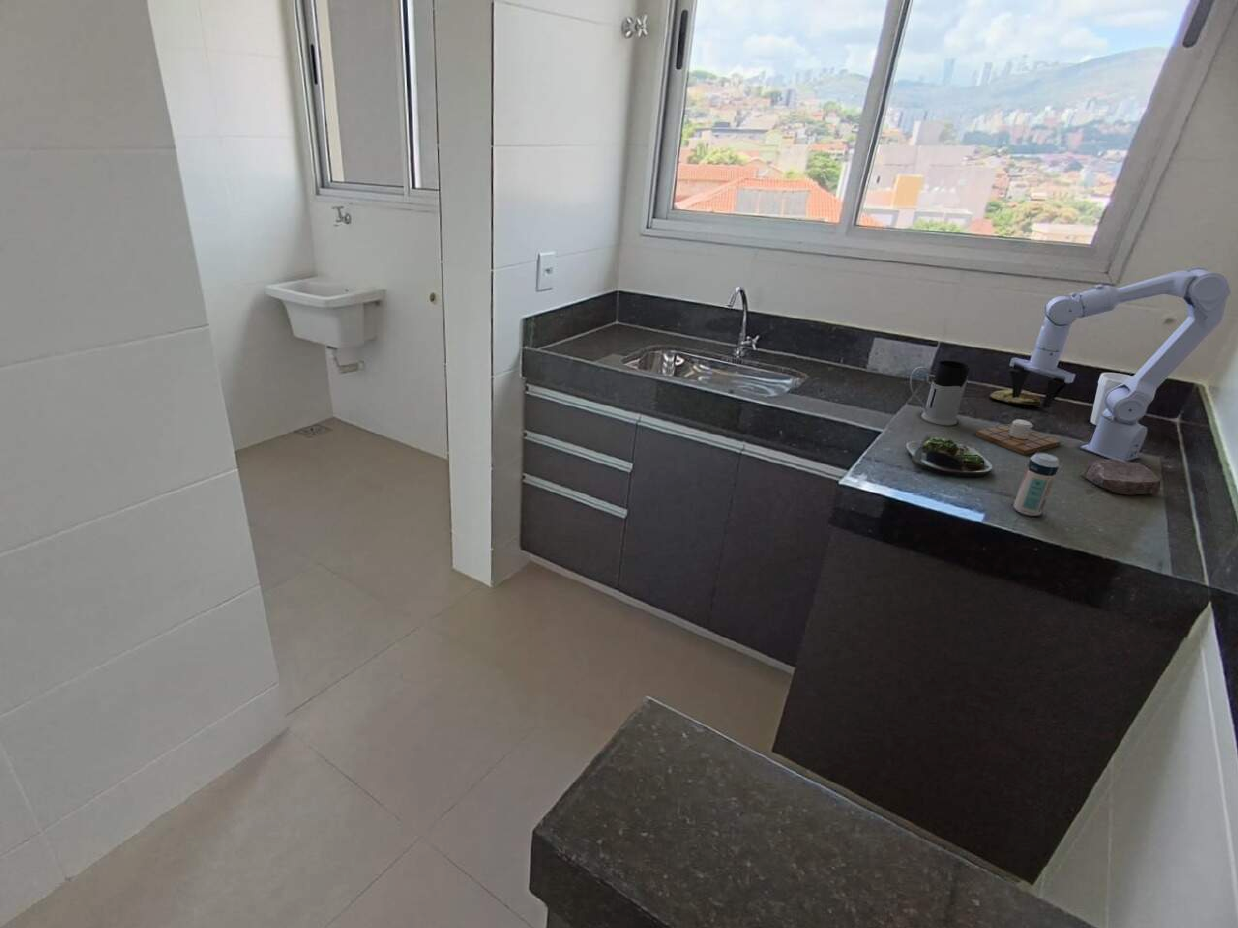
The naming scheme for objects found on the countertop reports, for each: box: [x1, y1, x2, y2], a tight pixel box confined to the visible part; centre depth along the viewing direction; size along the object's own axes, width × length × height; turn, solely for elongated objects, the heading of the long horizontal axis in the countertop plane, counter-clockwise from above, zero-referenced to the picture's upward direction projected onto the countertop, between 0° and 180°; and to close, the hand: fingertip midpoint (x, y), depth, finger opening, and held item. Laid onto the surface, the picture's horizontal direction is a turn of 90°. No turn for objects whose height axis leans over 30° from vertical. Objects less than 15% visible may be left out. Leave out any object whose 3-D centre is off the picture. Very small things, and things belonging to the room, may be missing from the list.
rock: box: [989, 389, 1042, 406], centre depth 190 cm, size 13×10×4 cm
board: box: [976, 422, 1061, 456], centre depth 164 cm, size 13×15×1 cm
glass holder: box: [909, 359, 971, 426], centre depth 172 cm, size 9×14×15 cm, turn 83°
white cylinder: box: [1009, 418, 1034, 439], centre depth 163 cm, size 4×4×4 cm
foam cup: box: [1089, 372, 1132, 426], centre depth 175 cm, size 10×9×13 cm
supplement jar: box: [1013, 452, 1060, 517], centre depth 127 cm, size 5×5×12 cm
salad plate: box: [906, 434, 994, 479], centre depth 150 cm, size 19×18×5 cm
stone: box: [1084, 459, 1162, 495], centre depth 142 cm, size 9×12×5 cm
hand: (1030, 402), depth 162 cm, fingers open, 7 cm apart
